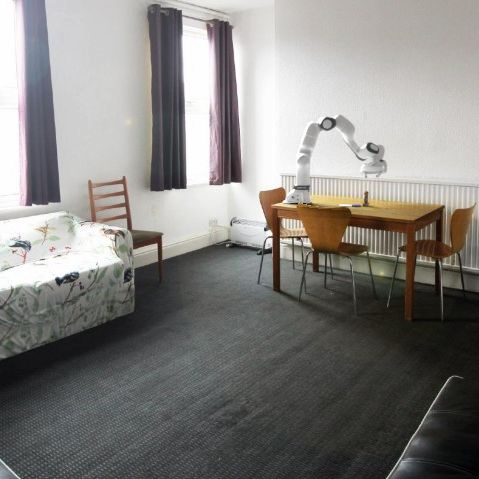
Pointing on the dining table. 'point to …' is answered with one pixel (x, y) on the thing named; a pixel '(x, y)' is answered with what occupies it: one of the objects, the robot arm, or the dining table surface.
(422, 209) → the dining table surface
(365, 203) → the stamp
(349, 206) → the print sheet
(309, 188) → the robot arm
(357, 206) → the ink pad
